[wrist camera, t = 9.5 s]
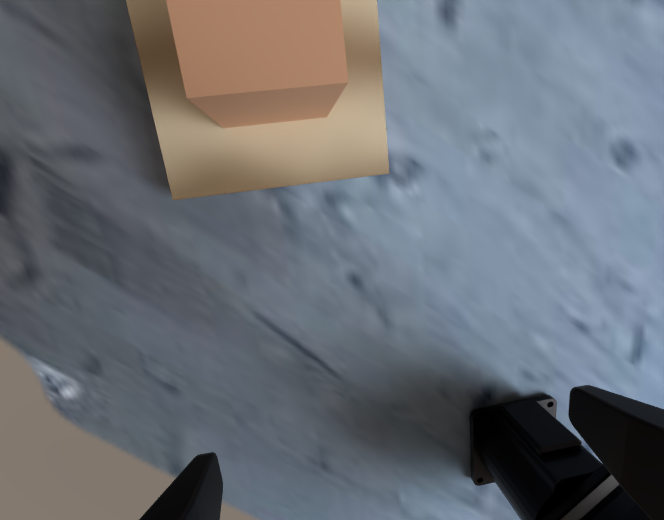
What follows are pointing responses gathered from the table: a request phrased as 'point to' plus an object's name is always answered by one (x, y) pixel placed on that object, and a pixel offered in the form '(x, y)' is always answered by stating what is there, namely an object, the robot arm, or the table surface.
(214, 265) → the table surface
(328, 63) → the block
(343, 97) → the base slab
